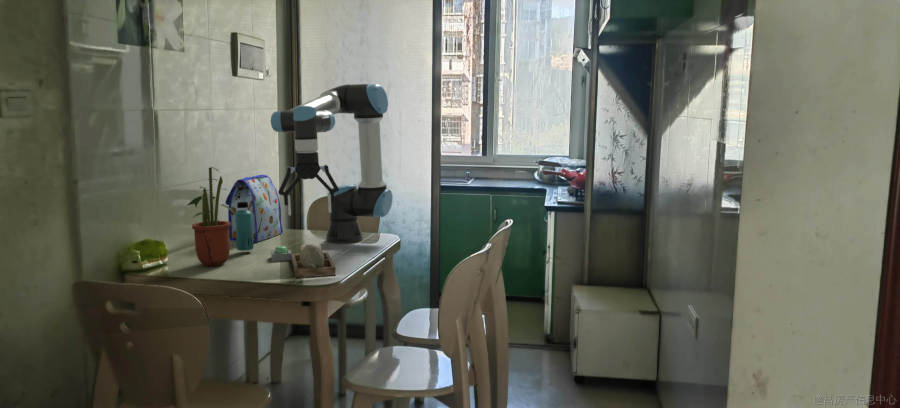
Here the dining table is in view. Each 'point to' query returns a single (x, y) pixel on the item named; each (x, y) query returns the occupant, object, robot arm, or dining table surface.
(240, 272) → the dining table surface
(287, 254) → the button box
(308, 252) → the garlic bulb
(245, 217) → the beverage bottle
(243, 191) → the lunch bag
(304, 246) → the block
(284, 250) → the button
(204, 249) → the potted plant
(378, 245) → the dining table surface
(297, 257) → the brown wooden tray
